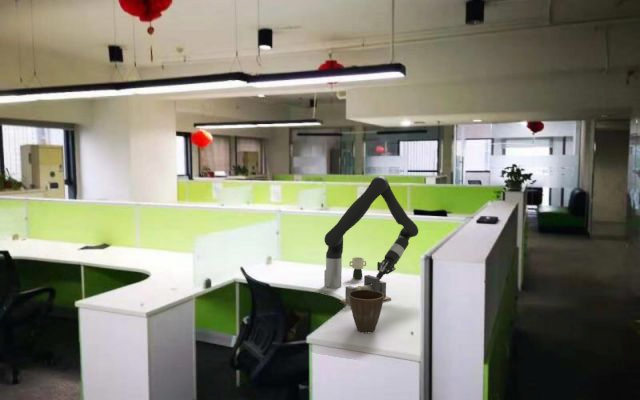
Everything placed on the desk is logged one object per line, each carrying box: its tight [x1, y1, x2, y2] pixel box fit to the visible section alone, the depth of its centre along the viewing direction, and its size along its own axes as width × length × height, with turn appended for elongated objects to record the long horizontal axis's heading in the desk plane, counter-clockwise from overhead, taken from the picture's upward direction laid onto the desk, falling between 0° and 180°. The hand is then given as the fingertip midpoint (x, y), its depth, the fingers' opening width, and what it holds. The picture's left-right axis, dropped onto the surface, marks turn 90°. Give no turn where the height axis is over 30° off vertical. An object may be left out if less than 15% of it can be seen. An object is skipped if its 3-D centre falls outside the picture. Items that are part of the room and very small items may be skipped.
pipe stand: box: [340, 280, 392, 307], centre depth 253 cm, size 25×12×9 cm, turn 126°
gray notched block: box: [363, 274, 381, 292], centre depth 255 cm, size 3×9×9 cm, turn 36°
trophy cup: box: [349, 256, 367, 280], centre depth 302 cm, size 11×7×13 cm, turn 99°
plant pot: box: [349, 290, 384, 334], centre depth 208 cm, size 15×15×16 cm
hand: (377, 278), depth 257 cm, fingers closed
